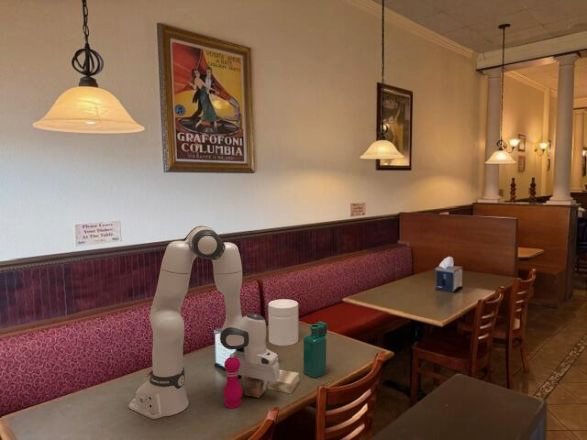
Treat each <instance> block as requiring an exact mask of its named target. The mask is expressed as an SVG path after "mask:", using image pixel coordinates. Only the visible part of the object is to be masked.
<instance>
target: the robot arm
mask: <svg viewBox="0 0 587 440" xmlns="http://www.w3.org/2000/svg"><path fill="white" fill-rule="evenodd" d="M197 257H199V258H201V259H208V260H211V261H212V266H213V267H212V268H213V279H214V282H215V283H214V284H215V287H216V290H217V291H218V292H220V293H222V295H223V298H224V305H225V306H224V307H225V314H226V315H225V319H224V321H223V325H222V329H221V330H220V331H221V332H220V335H219V340H220V343H221V345H222V346H223V347H224V348H225V349H227V350H236V351H233V352H232V354H234V357H236V358H238V359H239V361H240V367H239V374H238V376H241V380H242V381H243V385H244V387H245V380H246V379H247V378H248V377H251V378H255V379H260V380H263V382H265V383H264V384H262V385H261V390H265V391H266V390H267V389H266V388H267V385H268V381H270V382H276V381H277V380H278V379H279V377H280V370H281V369H280V364H279V363H280V362H279V363H278V362H277V361H276V360H277V359H279V358H278V354H277V353H275V352H274V351H271V349H268V348H267V344H266V339H267V324H266V320H265V318H264V317H263V315H260V314H258V313H248V314H246V315H245V316H244V315H243V312H242V306H241V295H240V294H241V289H242V285H243V266H242V259H241V255H240V251H239V248H238V246H237V245H236V244H235V243H233V242H230V241H229V242H224V241H223V240H222V239H221V237H220V236H219V234H218V233H216V231H215V230H214V229H212V228H211V227H209V226H205V225H198V226H196V227H194V228H193V229H191V230H190V231H189V232H188V234H187V235H186V236H185V237H184V238H183V240H175V241H171V242H170V243H168V245H167V246H166V249H165V252H164V255H163V257H162V261H161V265H160V270H159V276H158V281H157V286H156V290H155V294H154V297H153V300H152V303H151V304H152V305H151V308H150V311H149V316H148V317H149V318H148V319H149V322H150V326H151V330H152V351H151V352H152V353H151V354H152V355H151V357H152V359H151V360H152V369H151V371H150V372H148V373H146V375H147V376H146V377H147V378H148V377H149V379H147V381H145V382H144V383H143V384H141V385H140V386H139V388H138V389H136V392H135V397H134V398H133V399H132V400H131V401H130V402H129V404H128V408H129V410H132V411H134V412H136V413H138V414H141V415H143V416H145V417H147V418H149V419H152V420H157V419H161V418H164V417H168V416H169V417H171V416H173V415H177V414H180V413H181V412H183V411H185V410H186V409H187V408H188V406H189V403H190V401H189V399H188V395H187V391H186V386H185V378H186V377H185V376H186V375H185V367H184V353H183V351H184V340H185V327H186V326H185V320H184V318H183V316H182V315H181V312H182V311H181V309H182V305H183V303H184V300H185V297H186V296H187V293H188V289H189V285H190V284H189V283H190V280H191V279H190V278H191V274H192V267H193V263H194V261H195V260H196V258H197ZM239 349H243V351H239Z"/></svg>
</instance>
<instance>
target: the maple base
mask: <svg viewBox="0 0 587 440" xmlns="http://www.w3.org/2000/svg"><path fill="white" fill-rule="evenodd" d="M279 370H280V377H279V379H278V380H277V381H276V382H270V381H268V383H267V389H268V390H271V391H276V392H282V393H286V394H292V392H293V391H294V390H295V388H296V387H297V386H298V384H299V383H300V373H299V372H295V371H289V370H284V369H279Z"/></svg>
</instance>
